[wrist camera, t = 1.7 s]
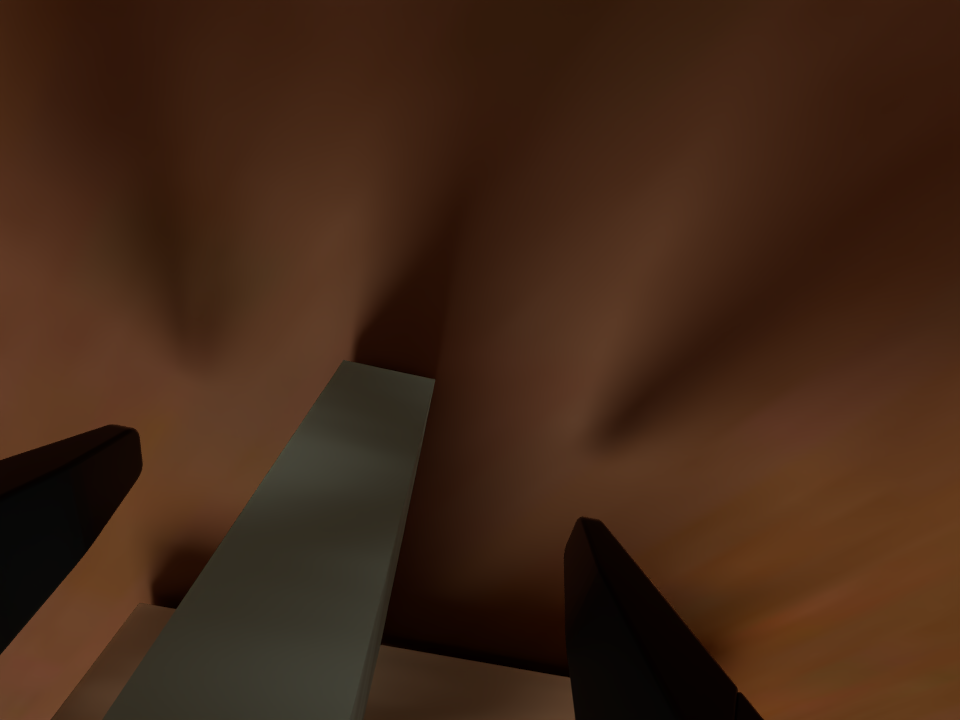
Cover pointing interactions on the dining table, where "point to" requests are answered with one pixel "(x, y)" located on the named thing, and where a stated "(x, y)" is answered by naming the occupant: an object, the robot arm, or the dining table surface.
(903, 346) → the dining table surface
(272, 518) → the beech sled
